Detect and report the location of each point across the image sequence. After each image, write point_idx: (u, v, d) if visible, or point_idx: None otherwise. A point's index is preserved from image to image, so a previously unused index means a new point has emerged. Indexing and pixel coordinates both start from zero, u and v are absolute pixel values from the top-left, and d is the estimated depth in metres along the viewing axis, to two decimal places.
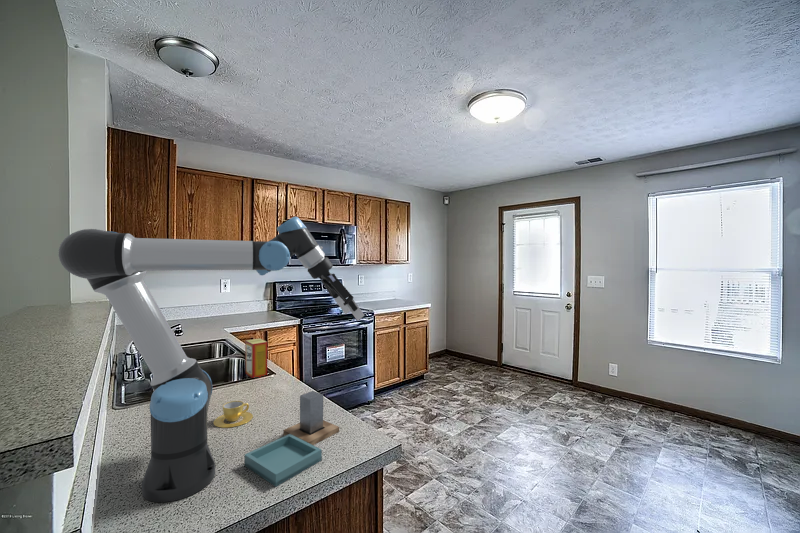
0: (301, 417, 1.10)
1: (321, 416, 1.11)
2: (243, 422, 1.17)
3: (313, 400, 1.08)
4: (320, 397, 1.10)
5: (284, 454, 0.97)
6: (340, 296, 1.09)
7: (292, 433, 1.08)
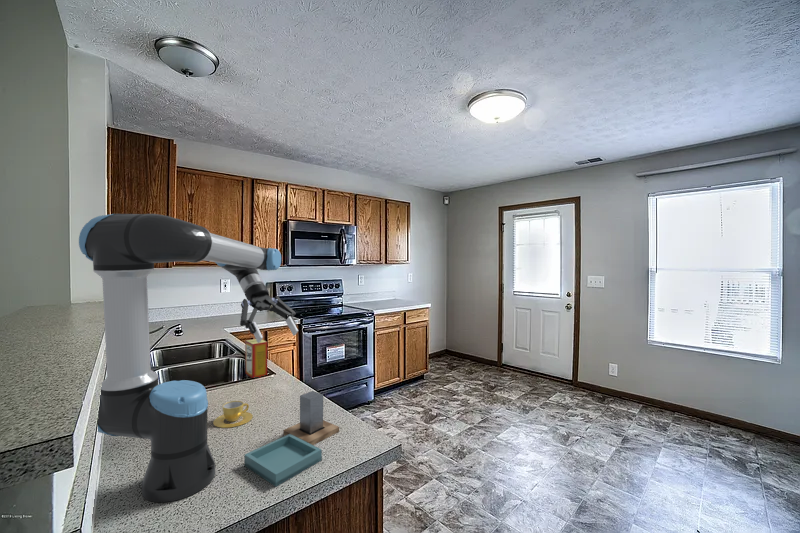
0: (301, 417, 1.10)
1: (321, 416, 1.11)
2: (243, 422, 1.17)
3: (313, 400, 1.08)
4: (320, 397, 1.10)
5: (284, 454, 0.97)
6: (285, 310, 1.29)
7: (292, 433, 1.08)
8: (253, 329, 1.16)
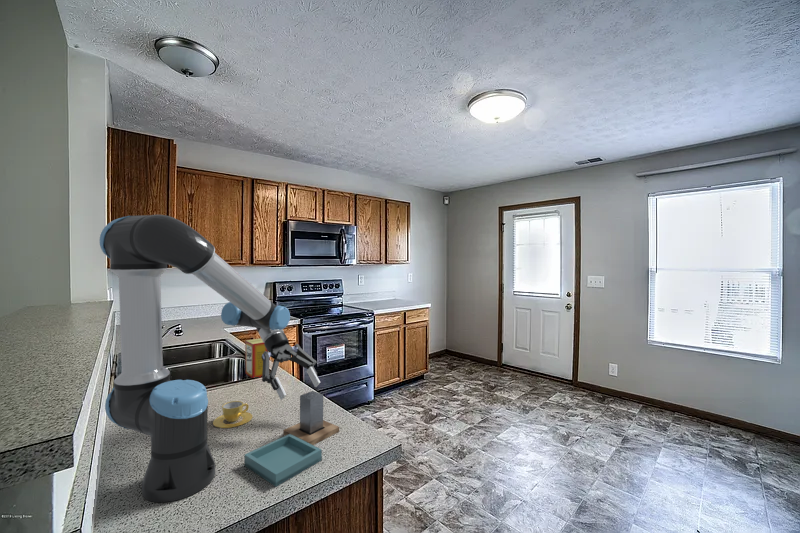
0: (301, 417, 1.10)
1: (321, 416, 1.11)
2: (243, 422, 1.17)
3: (313, 400, 1.08)
4: (320, 397, 1.10)
5: (284, 454, 0.97)
6: (306, 359, 1.25)
7: (292, 433, 1.08)
8: (276, 386, 1.11)
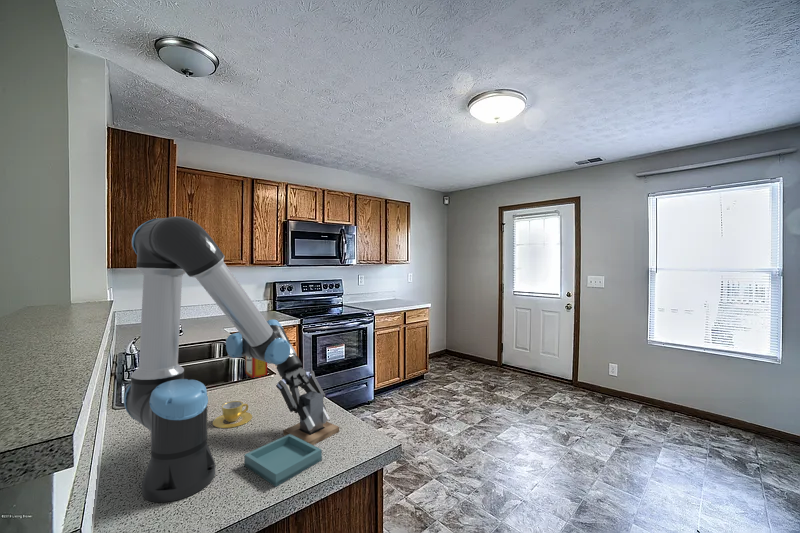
0: None
1: (321, 416, 1.11)
2: (242, 423, 1.17)
3: (313, 400, 1.08)
4: (320, 397, 1.10)
5: (284, 454, 0.97)
6: (316, 391, 1.15)
7: (292, 433, 1.08)
8: (304, 416, 1.07)
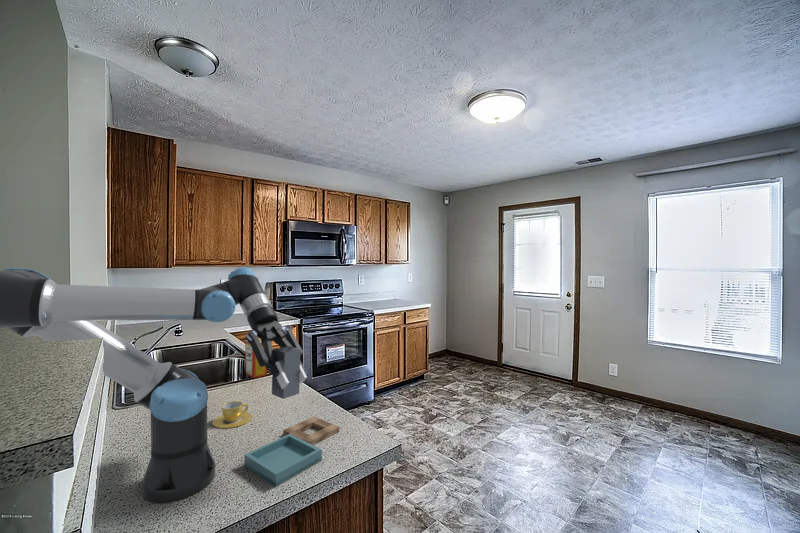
0: None
1: (297, 374, 0.95)
2: (242, 423, 1.17)
3: (288, 354, 0.93)
4: (296, 351, 0.95)
5: (284, 454, 0.97)
6: None
7: (292, 433, 1.08)
8: (276, 371, 0.91)
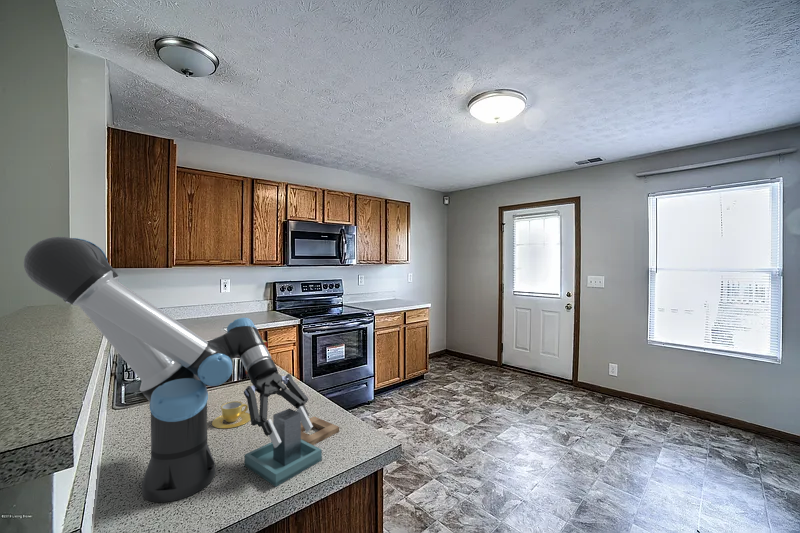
0: None
1: (298, 438, 0.95)
2: (241, 423, 1.17)
3: (288, 421, 0.92)
4: (297, 416, 0.94)
5: None
6: (296, 396, 1.01)
7: None
8: (268, 430, 0.90)
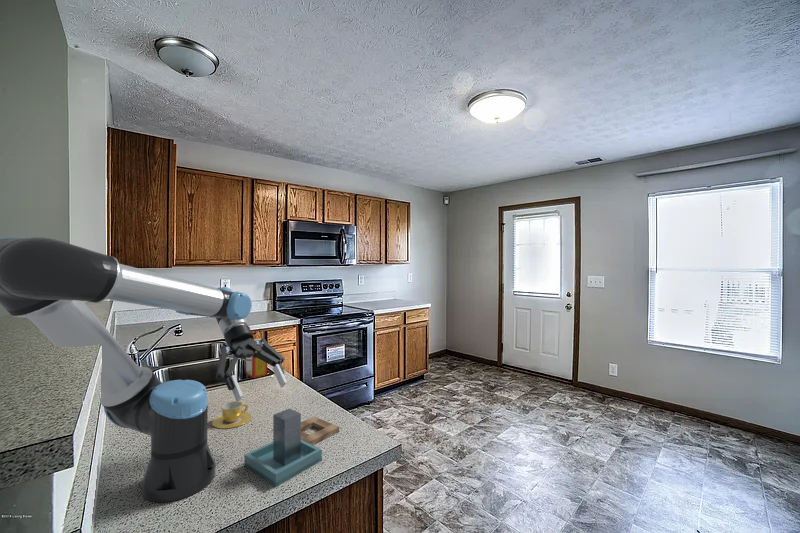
0: (275, 440, 0.94)
1: (298, 438, 0.95)
2: (242, 423, 1.17)
3: (288, 421, 0.92)
4: (297, 416, 0.94)
5: None
6: (272, 356, 1.09)
7: None
8: (231, 385, 0.96)
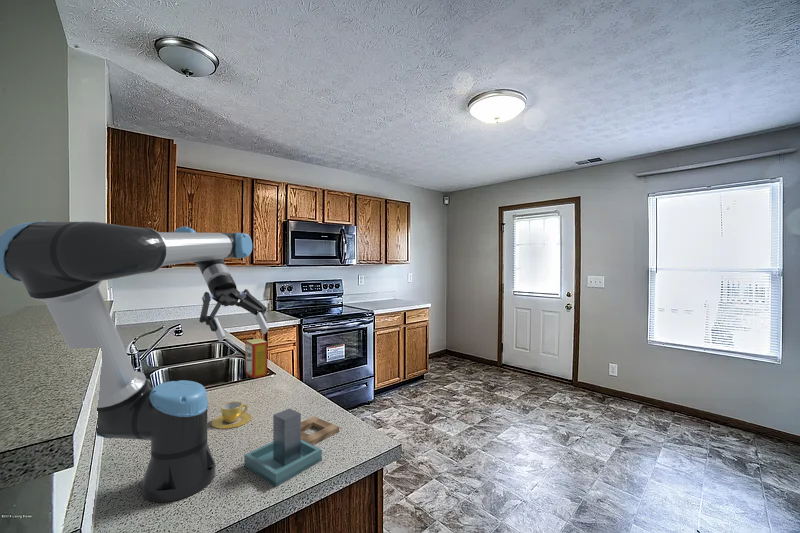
0: (275, 440, 0.94)
1: (298, 438, 0.95)
2: (241, 423, 1.17)
3: (288, 421, 0.92)
4: (297, 416, 0.94)
5: None
6: (255, 305, 1.14)
7: None
8: (214, 326, 1.00)
